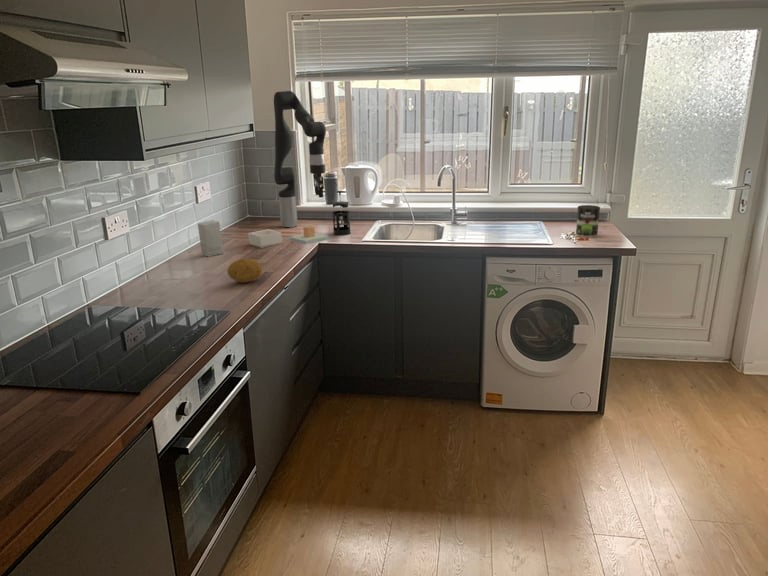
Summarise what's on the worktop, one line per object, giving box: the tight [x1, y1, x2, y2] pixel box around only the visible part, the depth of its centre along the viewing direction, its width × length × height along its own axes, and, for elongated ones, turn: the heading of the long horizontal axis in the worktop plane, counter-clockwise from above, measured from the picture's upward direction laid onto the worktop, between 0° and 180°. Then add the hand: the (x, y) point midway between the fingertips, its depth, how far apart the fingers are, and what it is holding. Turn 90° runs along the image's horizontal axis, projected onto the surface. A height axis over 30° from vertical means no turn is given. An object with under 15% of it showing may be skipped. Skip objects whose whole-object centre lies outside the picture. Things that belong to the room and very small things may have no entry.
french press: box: [331, 190, 352, 237], centre depth 302 cm, size 12×9×23 cm
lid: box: [289, 225, 330, 244], centre depth 295 cm, size 14×14×6 cm
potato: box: [227, 258, 262, 284], centre depth 225 cm, size 10×13×9 cm
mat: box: [285, 236, 334, 245], centre depth 296 cm, size 18×18×1 cm
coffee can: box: [575, 204, 601, 238], centre depth 283 cm, size 10×10×14 cm
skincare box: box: [197, 220, 224, 258], centre depth 269 cm, size 8×7×16 cm
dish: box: [247, 229, 283, 249], centre depth 287 cm, size 12×12×6 cm
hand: (319, 196), depth 291 cm, fingers open, 8 cm apart
